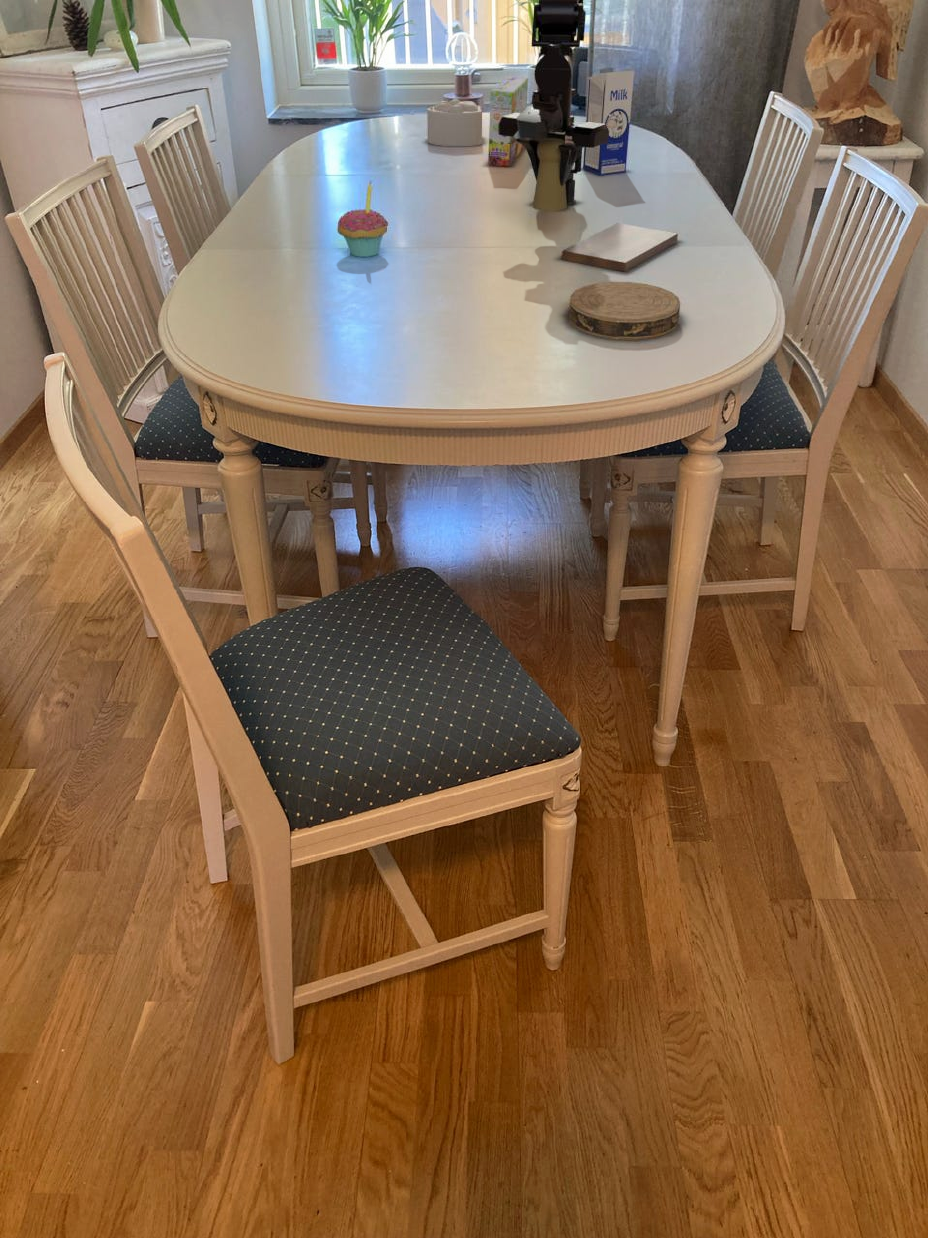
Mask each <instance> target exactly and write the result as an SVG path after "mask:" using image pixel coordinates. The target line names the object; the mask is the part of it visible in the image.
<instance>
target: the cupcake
mask: <svg viewBox="0 0 928 1238" xmlns="http://www.w3.org/2000/svg"><path fill="white" fill-rule="evenodd" d="M372 187H373V185H372V180H370V181H369V184H368V185H367V189H366V202H365V203H366V204H365V208H363V209H352V210H350V211H347V212H346V213H344V214H343V215H341V216H340V218H339V219H338V221H337V229H336V230H337V231H336V232H337V233H338V234H339V235H341V236H343V238H344V240H345V242H346V245H347V248H348V249H349V252H350V254H351V255H352V256H354V257H359V258H369V257H373V256H376V255H378V254H379V252H380V247H381V243H382V240H383V237H384V235H385V234H386V233H387V232H388V226H389V221H388V220H387V219H386V218H385V217H384V216H383V215H382V214H381V213H379V212H377V210H373V209H371V199H372V189H373V188H372Z"/></svg>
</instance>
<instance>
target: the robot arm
mask: <svg viewBox="0 0 928 1238" xmlns="http://www.w3.org/2000/svg"><path fill="white" fill-rule="evenodd" d="M584 2H585V1H584V0H538V2H534V4H533V14H532V15H533V17H532V34H531V47H533V48H537V47H539V48H540V50H539V51H538V60H537V61H536V65H535V68H534V72H533V73H534V81H535V84H536V85H537V86H536V87H537V88H536V89H537V90H534V91H532V94H531V95H532V96H531V103H530V105H527V107H526V108H525V109H524V111H523V112H522V113H513V114H509V115H506V116H503V117H502V118H501V119H500V121H499V123H498V134H499V135H503V136H510V137H512V136H514V135H515V134H516V133H517V131H518V138H517V139H516V142H517V143H521V144H522V146H523V147H524V148H523V149H525V150H526V153H527V155H528V158H529V161H530V164H531V169H532V171H533V174H534V179H535V181H536V182H537V176H538V169H539V163H540V159H539V157H538V155H537V147H538V144H539V142H540V141H541V140H543V139H547V138H558V139H562V140H564V141H565V143H564V144H562V145H559V146H558V148H559V150H560V153H561V162H560V175H559V179H560V184H561V186H563V185H565V188H566V202H567V207H569V206H571V205H573V204H576V203H577V199H575V193H576V179H574V174H575V175H576V174H578V173H580V172H582V163H583V161H582V159H583V149H584V147H588V148H593V147H596V146H599V145H602V144H604V143H607V142H609V130H608V127H607V125H606V124H602V123H594V122H586V121H585V122H583V123H580V124H578V125H575V116H574V115H572V114H571V112H572V99H573V97H576V96H577V95H576V94H577V93H576V92H577V89H576V88H573V81H574V80H573V79H574V78H573V77H574V60H575V52H574V49H573V48H580V47H581V42H584V41H585V32H586V31H585V29H586V15H587V11H586V10H585V9H584ZM575 37H576V39H575Z"/></svg>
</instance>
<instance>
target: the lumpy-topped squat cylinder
mask: <svg viewBox="0 0 928 1238" xmlns="http://www.w3.org/2000/svg"><path fill="white" fill-rule="evenodd" d="M426 113H427V114H426V115H427V119H426V120H427V121H426V123H427V143H428V144H431V145H435V146H442V147H475V146H481V145H483V110H482V107H481V106H480V105H477V103H476V102H474V101H472V100H471V101H470V100H464V101H461V100H460V99H457V98H453V99H452V100H449V101H447V100H441V101H438V102H437V103H436V104H435V105H434V106H430V107H429V108H427V109H426Z"/></svg>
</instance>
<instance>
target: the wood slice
mask: <svg viewBox="0 0 928 1238" xmlns="http://www.w3.org/2000/svg"><path fill="white" fill-rule="evenodd" d="M680 311H681V300H680V297H678V296H677V295H676V293H673V292H672V291H670V290H668V289H665V288H663V287H660V286H656V285H651V284H647V283H641V282H634V281H607V282H606V281H605V282H597V283H593V284H588V285H584V286H582V287H579V288H577V289H575V290H574V291H573V292H572V294H570V295H569V312H568V317H569V318H568V319H569V323H570V324H571V325H572V326H573V327H574V328H575V329H577V330H579V331H581V332H583V333H585V334H587V335H591V336H596V337H599V338H605V339H612V340H622V341H624V340H629V341H638V340H648V339H654V338H657V337H661V336H665V335H668V334H669V333H671V332H672V331H675V329H676V328H677V326H678V324H679V318H680Z"/></svg>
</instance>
